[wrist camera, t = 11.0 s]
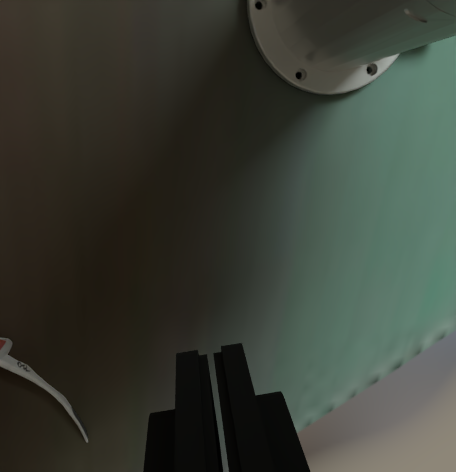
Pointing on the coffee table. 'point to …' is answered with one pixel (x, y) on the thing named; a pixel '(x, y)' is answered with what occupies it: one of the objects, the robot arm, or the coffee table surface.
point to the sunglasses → (35, 380)
